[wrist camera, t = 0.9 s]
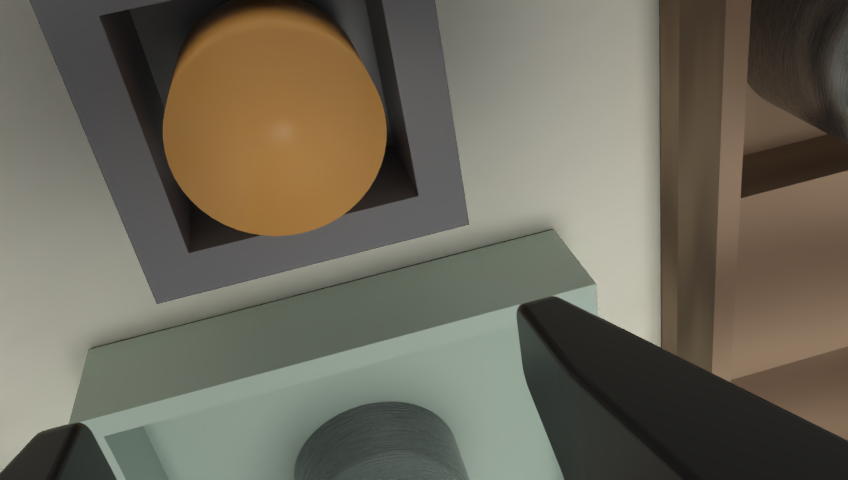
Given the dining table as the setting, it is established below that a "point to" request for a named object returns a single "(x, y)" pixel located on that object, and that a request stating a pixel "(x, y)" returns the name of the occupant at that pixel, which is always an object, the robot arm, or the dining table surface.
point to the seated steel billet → (802, 60)
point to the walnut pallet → (749, 223)
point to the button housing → (161, 194)
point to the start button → (272, 118)
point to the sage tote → (337, 370)
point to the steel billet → (382, 446)
